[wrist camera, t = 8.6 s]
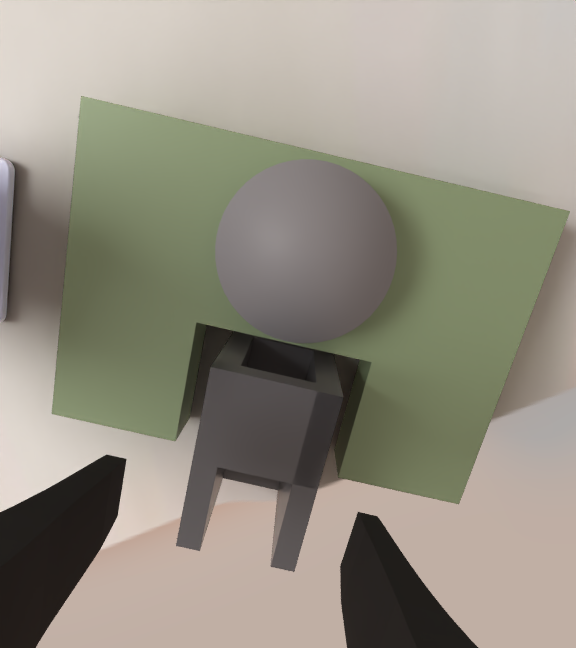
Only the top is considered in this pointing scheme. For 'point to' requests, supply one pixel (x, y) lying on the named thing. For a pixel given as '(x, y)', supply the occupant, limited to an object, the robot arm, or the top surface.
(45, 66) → the top surface
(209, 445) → the chute
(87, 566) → the robot arm
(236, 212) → the notched green slab
